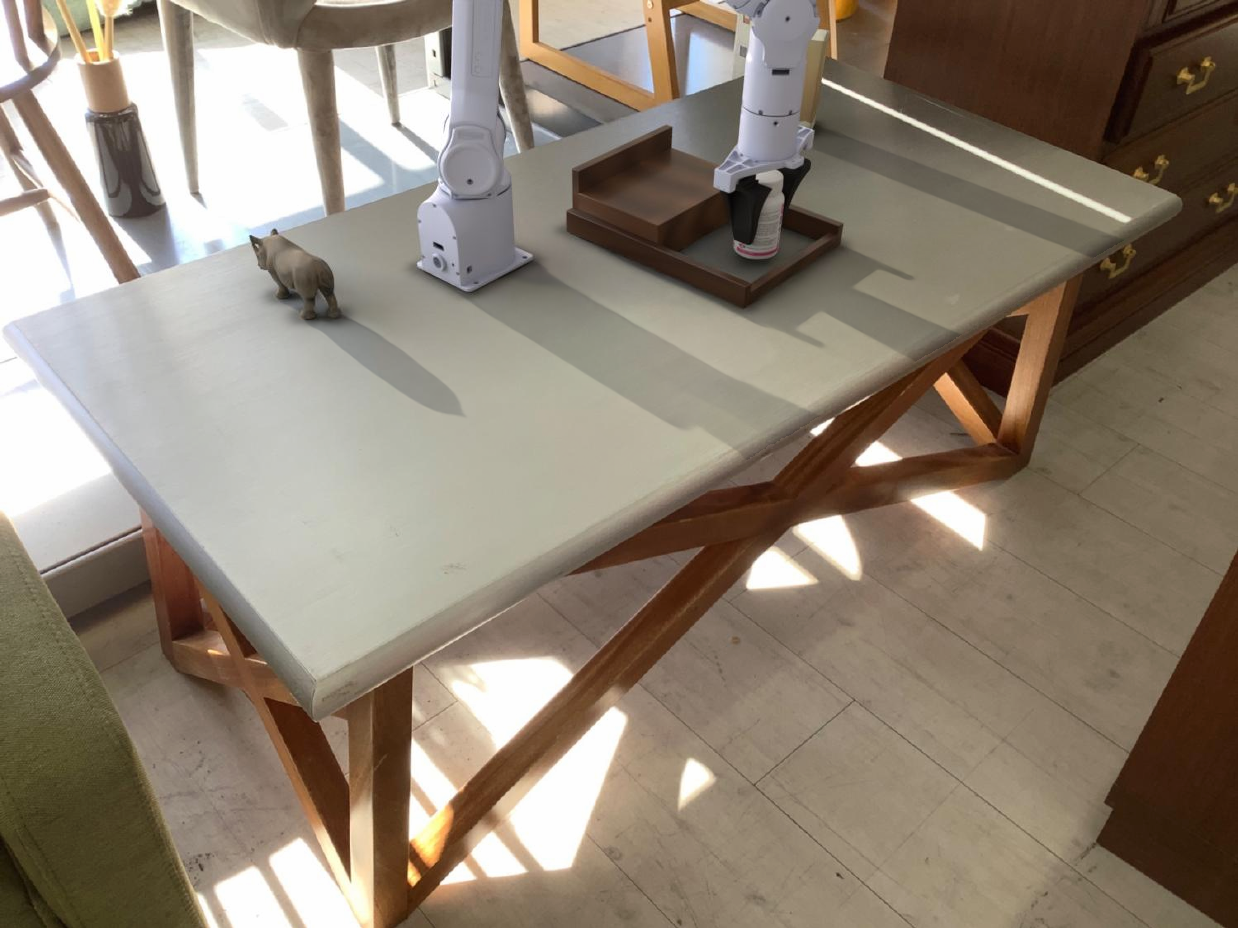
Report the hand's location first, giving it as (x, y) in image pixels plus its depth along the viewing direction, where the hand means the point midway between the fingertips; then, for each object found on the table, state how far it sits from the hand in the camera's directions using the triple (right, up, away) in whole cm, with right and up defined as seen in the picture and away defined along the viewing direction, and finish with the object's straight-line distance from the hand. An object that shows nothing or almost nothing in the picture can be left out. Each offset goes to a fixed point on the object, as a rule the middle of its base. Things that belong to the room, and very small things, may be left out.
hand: (757, 232), depth 115 cm
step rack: (-5, +1, +5) cm, 8 cm away
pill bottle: (0, -2, +1) cm, 2 cm away
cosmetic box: (+8, +20, +29) cm, 36 cm away
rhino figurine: (-47, -7, -5) cm, 48 cm away
